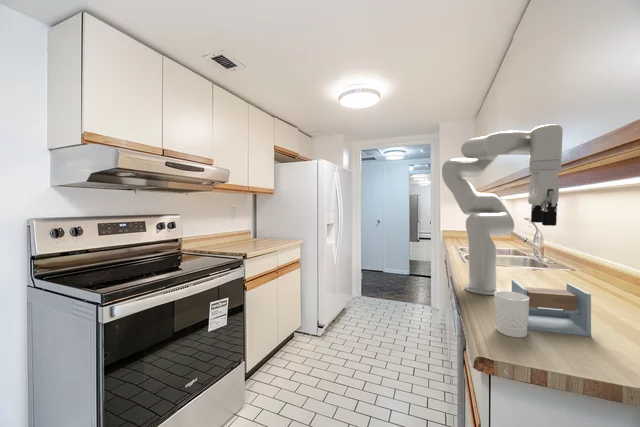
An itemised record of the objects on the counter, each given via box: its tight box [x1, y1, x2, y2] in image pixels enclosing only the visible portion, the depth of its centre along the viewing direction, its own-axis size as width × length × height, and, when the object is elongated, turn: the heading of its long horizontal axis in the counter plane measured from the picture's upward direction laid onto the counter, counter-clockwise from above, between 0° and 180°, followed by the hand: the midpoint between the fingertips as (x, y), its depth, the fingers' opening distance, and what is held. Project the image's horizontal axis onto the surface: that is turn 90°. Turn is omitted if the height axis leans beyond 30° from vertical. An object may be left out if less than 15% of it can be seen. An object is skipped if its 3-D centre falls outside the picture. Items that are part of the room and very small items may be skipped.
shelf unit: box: [511, 279, 592, 337], centre depth 79 cm, size 11×15×11 cm
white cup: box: [493, 290, 530, 339], centre depth 75 cm, size 8×8×10 cm
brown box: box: [523, 286, 576, 311], centre depth 79 cm, size 6×10×4 cm, turn 70°
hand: (542, 223), depth 85 cm, fingers open, 9 cm apart
